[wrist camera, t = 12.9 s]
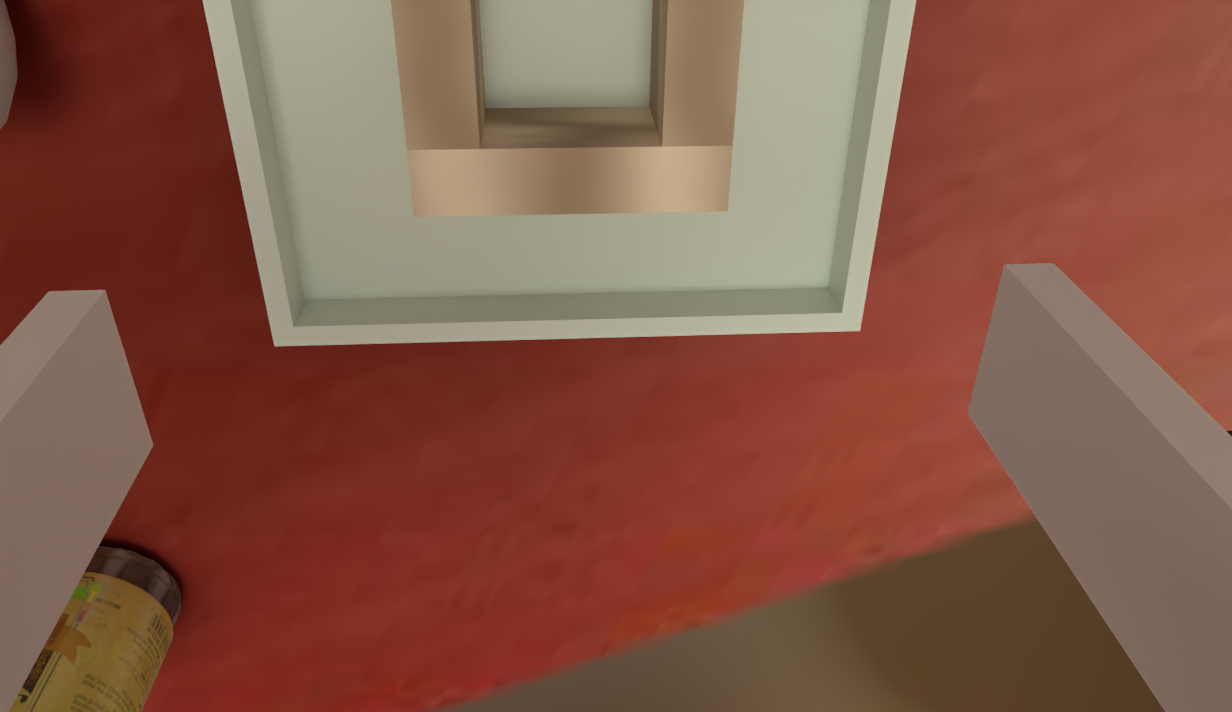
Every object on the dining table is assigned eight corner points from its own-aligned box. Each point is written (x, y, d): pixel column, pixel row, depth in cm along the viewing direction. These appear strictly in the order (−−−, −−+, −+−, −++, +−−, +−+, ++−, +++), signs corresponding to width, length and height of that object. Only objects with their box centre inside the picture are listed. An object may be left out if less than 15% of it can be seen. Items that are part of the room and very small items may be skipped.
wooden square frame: (426, 170, 34) (414, 217, 30) (394, -151, 28) (375, -138, 25) (708, 166, 34) (727, 211, 31) (729, -149, 29) (754, -136, 26)
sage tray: (289, 311, 37) (274, 346, 35) (153, -400, 25) (116, -415, 23) (841, 297, 38) (859, 330, 36) (946, -381, 27) (983, -393, 25)
